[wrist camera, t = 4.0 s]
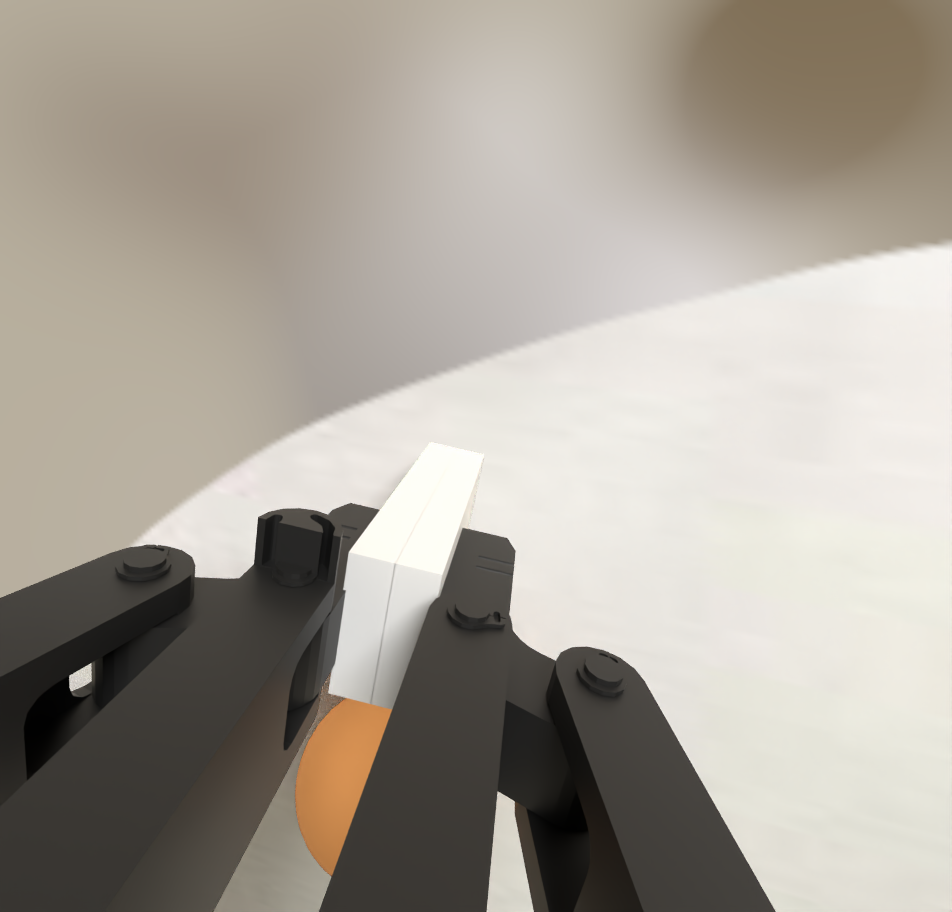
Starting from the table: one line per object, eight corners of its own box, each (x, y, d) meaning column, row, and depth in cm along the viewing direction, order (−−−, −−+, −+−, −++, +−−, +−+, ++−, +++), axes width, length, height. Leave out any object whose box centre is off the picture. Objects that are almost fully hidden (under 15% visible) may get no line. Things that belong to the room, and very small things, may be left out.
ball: (468, 791, 20) (443, 964, 15) (326, 754, 21) (252, 911, 15) (500, 670, 19) (484, 817, 13) (344, 631, 19) (269, 761, 14)
